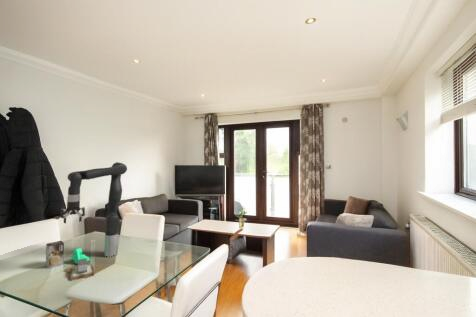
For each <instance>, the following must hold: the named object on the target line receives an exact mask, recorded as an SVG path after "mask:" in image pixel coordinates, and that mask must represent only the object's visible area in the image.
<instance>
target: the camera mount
mask: <svg viewBox="0 0 476 317" xmlns="http://www.w3.org/2000/svg"><path fill="white" fill-rule="evenodd" d="M84 258H87V263H88V262H89V261H90V257H89V256H87V255H86V254H84V253H83V249H82V248H81V247H79V248H76V249H74V250H73V252H72V256H71V260H73V262H74V263H75V265H78V260H79V259H84Z"/></svg>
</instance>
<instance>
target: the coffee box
mask: <svg viewBox="0 0 476 317" xmlns="http://www.w3.org/2000/svg"><path fill="white" fill-rule="evenodd" d="M45 246H46V248H45V266H46V267H47V268H48V269H51V268H55V267H58V266H61V265H64V260H65V258H64V254H65V250H64V249H65V243H64V242H63V241H62V240H57V241H54V242H53V241H52V242H49V243H46V245H45Z"/></svg>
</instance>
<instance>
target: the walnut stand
mask: <svg viewBox="0 0 476 317" xmlns="http://www.w3.org/2000/svg"><path fill="white" fill-rule="evenodd" d="M69 274H70V281H71V282H72V281H76V280H80V279H85V278H90V277H93V276H95V271H94V267H93V264H87V272H86V273H81V274H78V266H77V267H73V268H70V269H69Z"/></svg>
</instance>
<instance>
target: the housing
mask: <svg viewBox="0 0 476 317" xmlns="http://www.w3.org/2000/svg"><path fill="white" fill-rule="evenodd" d="M87 265H89V264H88V262H87V258H84V259H79V260H78V264H77V267H78V274H81V273H86V272H87Z"/></svg>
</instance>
